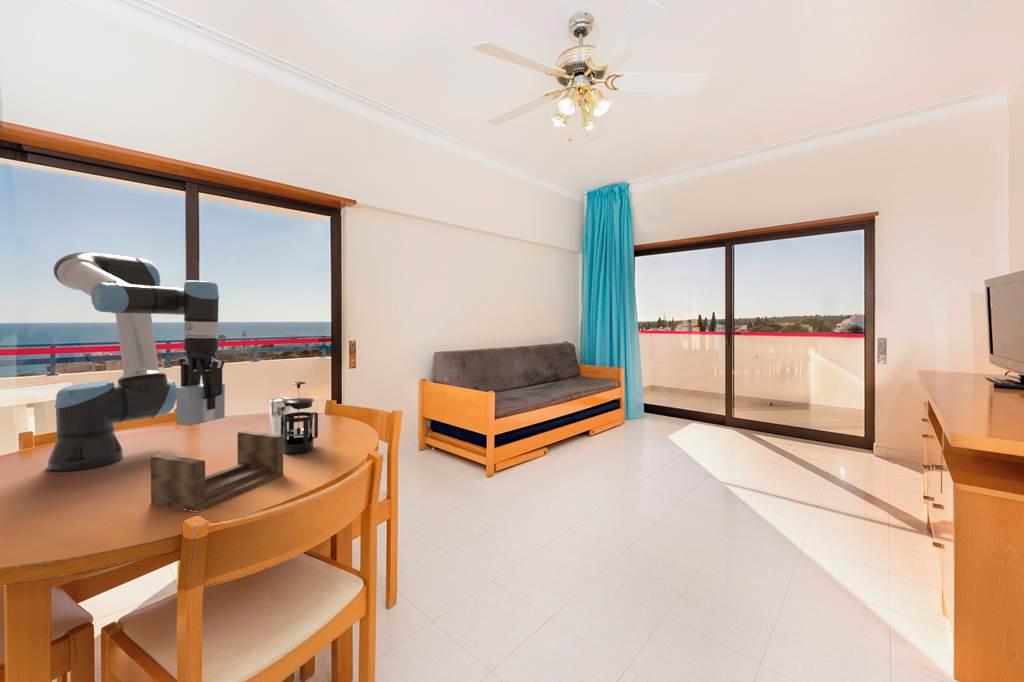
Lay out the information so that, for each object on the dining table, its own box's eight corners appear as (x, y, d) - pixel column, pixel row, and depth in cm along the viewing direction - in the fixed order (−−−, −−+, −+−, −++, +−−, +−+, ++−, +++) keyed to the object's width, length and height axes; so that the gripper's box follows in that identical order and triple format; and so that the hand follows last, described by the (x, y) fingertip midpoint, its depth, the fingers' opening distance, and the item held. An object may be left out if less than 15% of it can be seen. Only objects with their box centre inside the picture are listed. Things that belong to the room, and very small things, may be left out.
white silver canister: (264, 442, 142) (264, 400, 141) (279, 437, 148) (279, 397, 148) (282, 444, 140) (282, 401, 140) (295, 438, 147) (296, 398, 147)
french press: (290, 457, 127) (290, 385, 126) (274, 451, 132) (274, 382, 131) (324, 448, 137) (324, 381, 136) (308, 443, 142) (308, 378, 141)
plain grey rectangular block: (176, 424, 109) (176, 387, 108) (212, 416, 118) (212, 382, 118) (188, 426, 108) (189, 389, 107) (224, 417, 117) (224, 383, 117)
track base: (151, 503, 94) (150, 456, 94) (243, 468, 117) (243, 430, 117) (196, 512, 90) (196, 463, 90) (283, 474, 114) (283, 435, 113)
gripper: (163, 335, 110) (163, 419, 112) (212, 339, 106) (212, 426, 107) (191, 335, 118) (191, 413, 119) (238, 338, 113) (238, 419, 114)
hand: (201, 419), depth 113 cm, fingers closed on plain grey rectangular block, 4 cm apart
